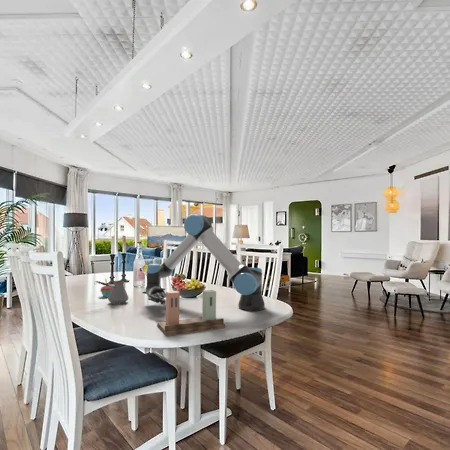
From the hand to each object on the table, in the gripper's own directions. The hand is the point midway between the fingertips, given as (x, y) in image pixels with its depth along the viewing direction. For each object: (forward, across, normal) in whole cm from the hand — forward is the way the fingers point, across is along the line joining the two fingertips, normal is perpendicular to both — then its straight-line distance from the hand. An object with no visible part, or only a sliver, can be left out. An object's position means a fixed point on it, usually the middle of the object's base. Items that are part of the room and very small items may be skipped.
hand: (168, 303), depth 146 cm
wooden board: (+14, -7, -8) cm, 18 cm away
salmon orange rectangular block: (+11, +1, -7) cm, 13 cm away
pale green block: (+16, -15, -6) cm, 23 cm away
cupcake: (-70, +22, -9) cm, 74 cm away
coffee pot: (-45, +22, -9) cm, 51 cm away
